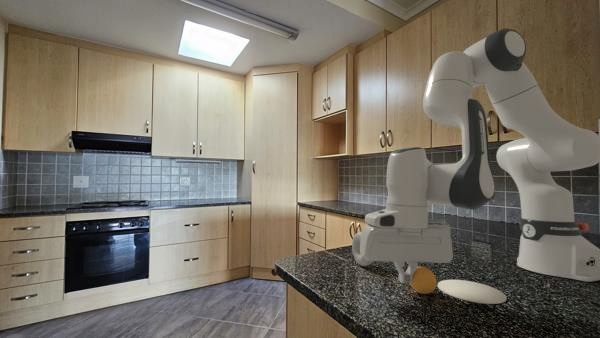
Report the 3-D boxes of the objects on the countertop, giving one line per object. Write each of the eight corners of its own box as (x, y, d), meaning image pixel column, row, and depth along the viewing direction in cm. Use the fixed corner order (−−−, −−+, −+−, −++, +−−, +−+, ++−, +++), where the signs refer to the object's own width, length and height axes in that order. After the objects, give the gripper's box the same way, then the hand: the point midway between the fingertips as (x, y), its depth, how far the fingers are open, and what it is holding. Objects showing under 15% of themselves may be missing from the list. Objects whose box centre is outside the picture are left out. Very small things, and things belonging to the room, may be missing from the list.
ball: (412, 292, 60) (430, 278, 61) (426, 304, 54) (447, 288, 55) (399, 272, 60) (418, 258, 61) (412, 281, 54) (433, 266, 55)
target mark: (474, 279, 66) (474, 278, 66) (523, 302, 53) (523, 301, 53) (426, 281, 64) (426, 280, 64) (464, 305, 51) (464, 304, 51)
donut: (377, 270, 72) (376, 234, 73) (366, 271, 71) (365, 234, 72) (359, 260, 82) (359, 228, 83) (350, 261, 81) (349, 229, 82)
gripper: (441, 218, 62) (441, 277, 61) (358, 215, 60) (356, 276, 59) (459, 221, 56) (459, 287, 55) (367, 218, 54) (366, 286, 53)
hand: (405, 281), depth 57 cm, fingers closed
